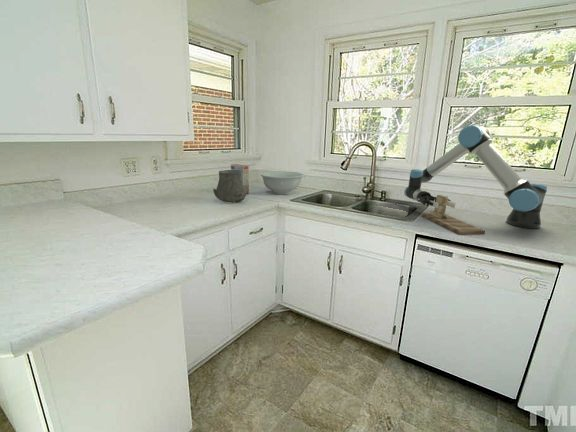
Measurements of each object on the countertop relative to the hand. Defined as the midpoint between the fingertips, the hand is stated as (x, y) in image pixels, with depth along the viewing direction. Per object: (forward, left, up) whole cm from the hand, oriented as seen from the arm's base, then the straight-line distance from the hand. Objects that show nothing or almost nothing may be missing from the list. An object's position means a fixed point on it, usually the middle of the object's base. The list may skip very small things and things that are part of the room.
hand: (446, 205), depth 161 cm
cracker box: (+136, +13, -9) cm, 137 cm away
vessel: (+123, +37, -9) cm, 129 cm away
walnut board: (-4, +4, -9) cm, 11 cm away
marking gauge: (+3, -3, -7) cm, 9 cm away
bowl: (+112, -8, -9) cm, 113 cm away
